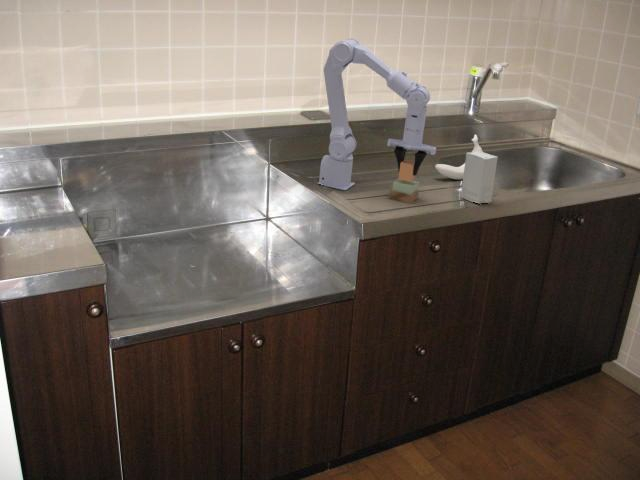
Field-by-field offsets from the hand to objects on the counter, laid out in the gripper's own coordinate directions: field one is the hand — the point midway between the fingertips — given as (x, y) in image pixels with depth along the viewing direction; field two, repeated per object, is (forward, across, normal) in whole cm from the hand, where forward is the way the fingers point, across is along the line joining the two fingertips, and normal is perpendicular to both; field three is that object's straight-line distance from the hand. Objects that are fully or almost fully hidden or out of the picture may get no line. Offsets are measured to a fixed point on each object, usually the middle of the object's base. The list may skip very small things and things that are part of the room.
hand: (407, 173), depth 212 cm
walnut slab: (+8, 0, 0) cm, 8 cm away
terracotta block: (+2, 0, 0) cm, 2 cm away
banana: (+8, +9, +32) cm, 34 cm away
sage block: (+5, 0, 0) cm, 5 cm away
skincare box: (+8, +19, +13) cm, 24 cm away
